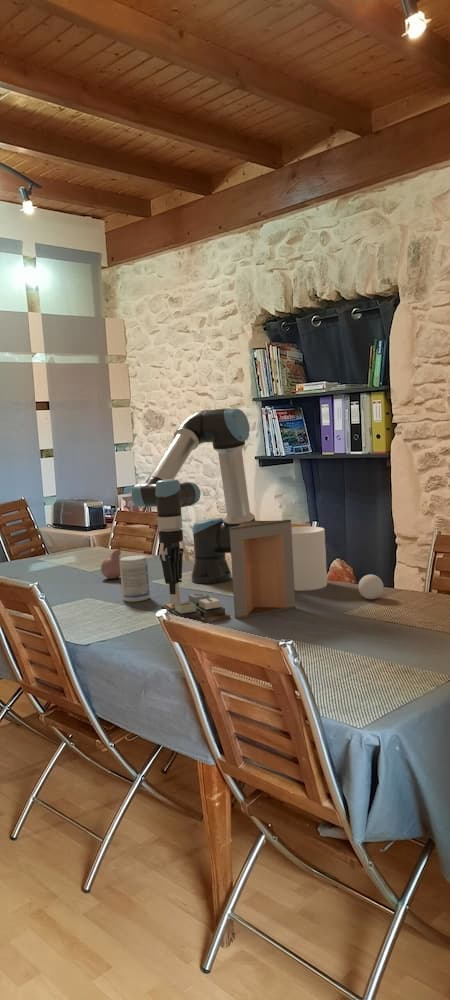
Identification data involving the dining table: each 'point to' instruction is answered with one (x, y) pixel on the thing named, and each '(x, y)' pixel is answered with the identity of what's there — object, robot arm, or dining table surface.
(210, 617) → the keypad board
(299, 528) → the canister
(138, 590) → the supplement tub
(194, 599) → the key slate
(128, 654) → the dining table surface
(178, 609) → the key sage
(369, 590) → the ball
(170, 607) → the key terracotta
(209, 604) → the key cream
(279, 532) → the cabinet
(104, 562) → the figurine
